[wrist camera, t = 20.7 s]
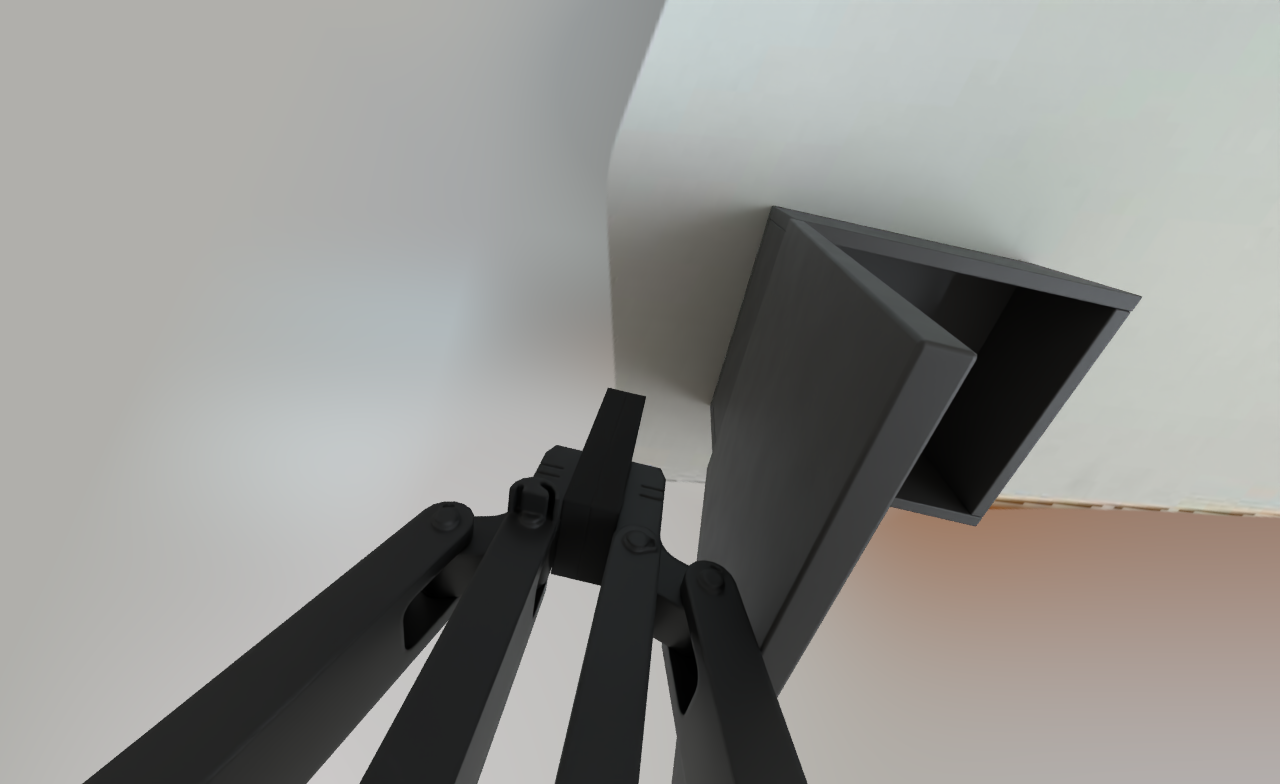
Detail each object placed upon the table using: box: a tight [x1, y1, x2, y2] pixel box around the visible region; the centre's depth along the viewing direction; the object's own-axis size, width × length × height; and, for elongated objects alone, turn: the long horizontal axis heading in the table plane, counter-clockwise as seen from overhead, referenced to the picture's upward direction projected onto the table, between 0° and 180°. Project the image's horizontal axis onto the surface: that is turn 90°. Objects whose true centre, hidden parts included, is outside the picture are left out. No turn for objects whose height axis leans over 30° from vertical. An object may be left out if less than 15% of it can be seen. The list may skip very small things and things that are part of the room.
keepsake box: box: [710, 206, 1142, 526], centre depth 30 cm, size 18×16×8 cm
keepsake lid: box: [672, 219, 977, 784], centre depth 18 cm, size 19×16×1 cm
